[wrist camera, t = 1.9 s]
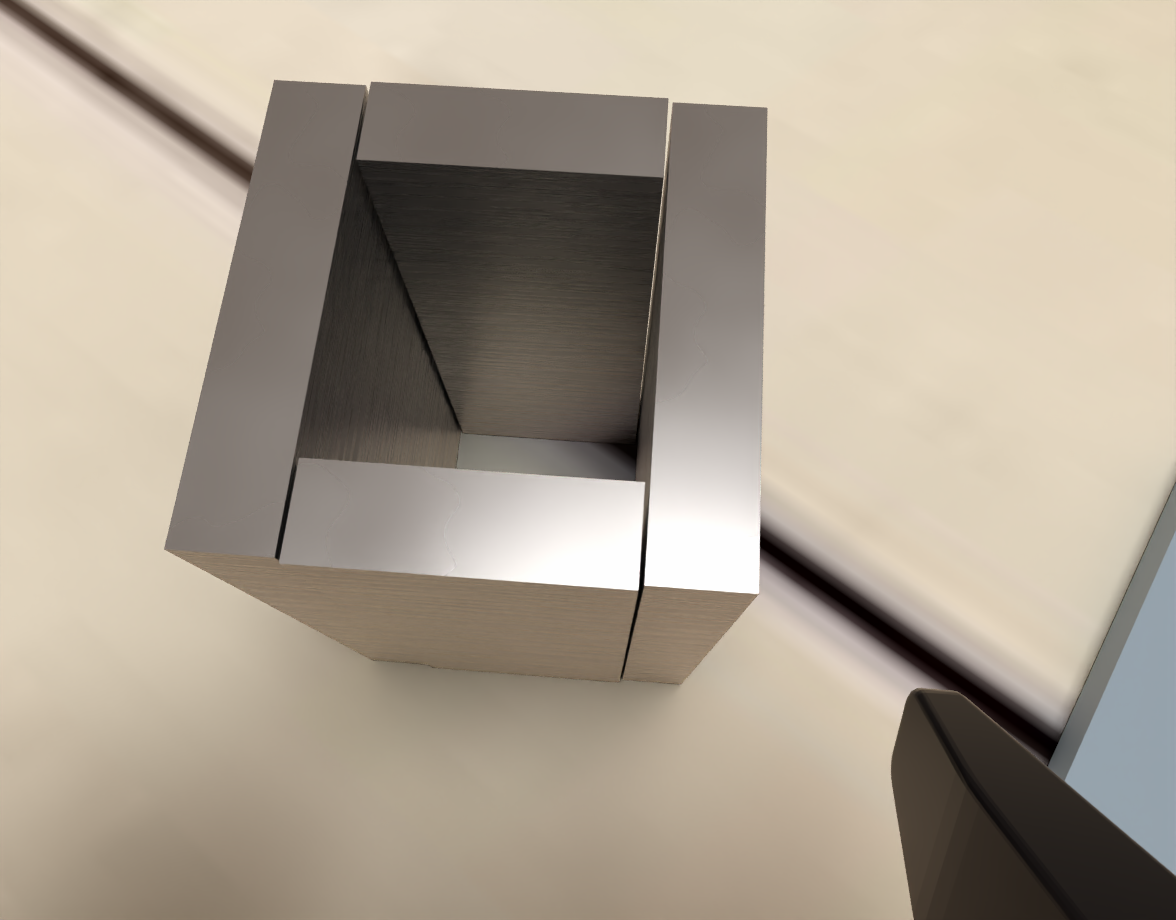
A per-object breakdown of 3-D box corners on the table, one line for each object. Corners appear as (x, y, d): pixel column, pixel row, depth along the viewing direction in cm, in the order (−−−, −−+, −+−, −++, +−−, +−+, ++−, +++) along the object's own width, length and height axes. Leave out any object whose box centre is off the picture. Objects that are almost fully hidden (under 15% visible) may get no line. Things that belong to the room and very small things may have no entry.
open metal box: (681, 687, 19) (758, 600, 10) (371, 663, 20) (163, 554, 10) (693, 399, 22) (767, 104, 12) (414, 380, 22) (274, 76, 12)
